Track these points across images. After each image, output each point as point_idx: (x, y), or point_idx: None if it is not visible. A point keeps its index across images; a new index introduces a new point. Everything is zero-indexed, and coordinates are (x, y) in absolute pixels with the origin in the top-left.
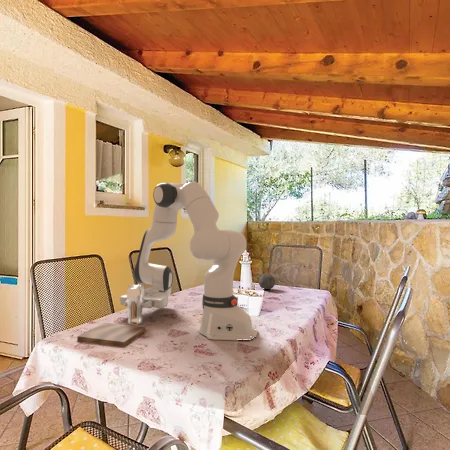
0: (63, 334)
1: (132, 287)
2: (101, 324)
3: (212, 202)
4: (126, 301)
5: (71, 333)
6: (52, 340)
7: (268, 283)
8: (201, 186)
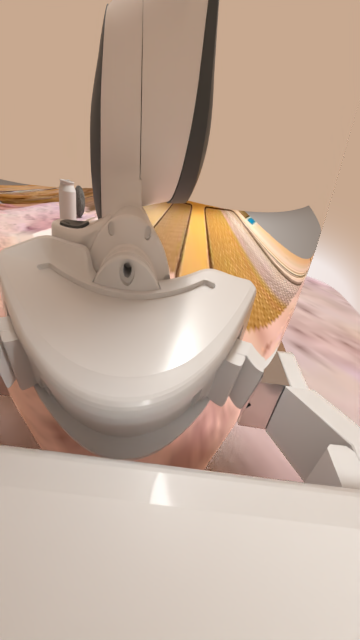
0: (340, 313)
1: (335, 108)
2: (283, 351)
3: None
4: (289, 367)
5: (328, 320)
6: (315, 286)
7: None
8: None
